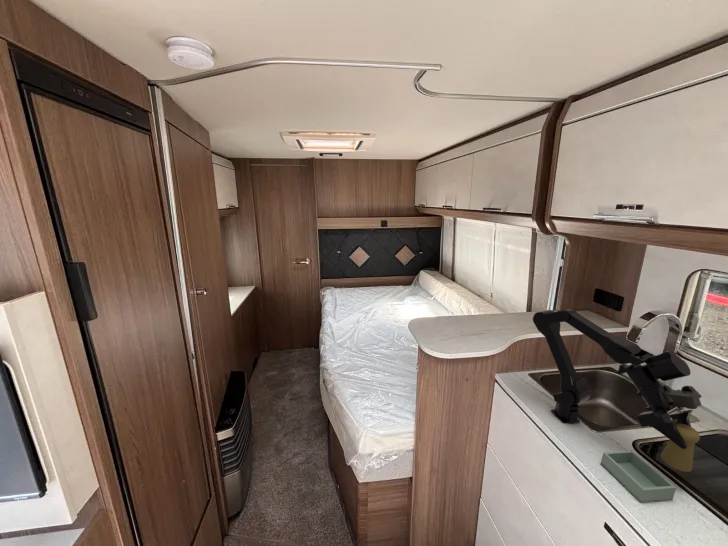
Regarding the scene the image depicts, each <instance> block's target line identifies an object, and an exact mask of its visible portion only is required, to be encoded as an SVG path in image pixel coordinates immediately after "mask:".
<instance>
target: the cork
mask: <svg viewBox="0 0 728 546" xmlns="http://www.w3.org/2000/svg"><path fill="white" fill-rule="evenodd" d="M676 428H677V429H678V431H679V433H680V435H681V437H682V438H683V440H684V442H685V444H686V446H687V449H682V448H681V447H679V446H678V445H677V444H675V443H674V442H673V441H671V440H670V439H669V440H668V441H667V444H666V445H665V447H664V449H663V451H662V452H661V454H660V458H661V460H662V461H663V462H664V463H665V464H666V465H668V466H669V467H671V468H673V469H675V470H678V471H681V472H684V473H685V472H686V473H690V472H692V470H693V460H694V452H695V445H696V444H697V443H698V442H699V441H700V439H701V436H700V434H699V432H698V431H697V429H695V428H693V427H692V426H691V427H690V426H688V425H685V424H680V423H677V424H676Z"/></svg>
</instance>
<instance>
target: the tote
mask: <svg viewBox="0 0 728 546" xmlns="http://www.w3.org/2000/svg"><path fill="white" fill-rule="evenodd" d="M600 466H602V468H604V469H605V470H606V471H607V472H608V473H609V474H610V475H611V476H612V477H613V478H614V479H615V480H616V481H617V482H618V483H619V484H620V485H622V487H623V488H624V489H625V490H626V491H628V492H629V494H630V495H631V496H633V498H634V499H636V501H638V503H640V504H642V503H646V504H647V503H654V502H666V501H667V502H670V501H673V499H674V496H675V493H676V491H677V487H676V486H675V485H674V484H673V483H672V482H671V481H669V480H667V478H665V477H664V476H663V475H662V474H661V473H660V472H659V471H657V470H656V469H654V467H652V466H651V465H650V464H649V463H647V461H645V460H644V459H643V458H642V457H640V456H639V455H638V454H637V453H635V452H634V451H633V450H623V451H622V450H621V451H619V450H618V451H605V452H604V451H603V453H602V455H601V461H600Z"/></svg>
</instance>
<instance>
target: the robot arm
mask: <svg viewBox="0 0 728 546" xmlns="http://www.w3.org/2000/svg"><path fill="white" fill-rule="evenodd" d="M532 322H533V324H534V326H535V327H536V329H537V331H538V332H539V333H540V334H541V335H543V337H544V338H545V341H546V343H547V345H548V348H549V350H550V353H551V355H552V359H553V360H554V363H555V365H556V367H557V371H558V373H559V375H560V386H559V387H560V390H561V391H559V392H557V393H554V394H553V399H554V402H555V408H552V409H550V411H551V412H552V414H553V415H554V416H555V417H556V418H557V419H559V421H560V422H561V423H563V424H569V423H580V422H581V420H580V419H579V418H578V416H579V409H580V406H579V404H581V403H582V402H583V403H584V402H585V401H588V400H589V399H590V398H591V395H592V393H591V391H592V388H591V387H590V386H589V383H588V380H587V378H586V377H584V378H582V377H581V376H580V375H578V373H577V372H576V369H575V367H574V365H573V364H574V363H573V362H572V360H571V356H570V354H569V352H568V349H567V347H566V345H565V341H564V340H563V337H562V335H561V323H563V322H565V323H566V324H568V326H571V327H572V328H574V329H575V330H577V331H578V332H580V333H581V334H583V336H584V335H585V336H586V337H587V338H589V339H590V340H591V341H593V342H595V343H596V344H597V345H598V346H600V348H601V349H602V350H603V352H604V354H606V355H607V356H608V357H609V358H610V359H611V360H613V361H614V362H615V363H617V364H620V365H618V366H619V368H618V369H617V372H616V373H617V374H618V375H623V374H627V377H628V378H629V379H630V381H631V383H632V384H633V386H634V387H635V388H636V390H637V392H635V394H636V396H637V397H642V399H643V400H644V402H645V403H646V407H645V410H646V411H644V412H641V413H640V414H637V416H636V418H635V419H636V422H637V423H638V424H639V426H640V427H641V428H645V427H650V428H653V429H654V430H656V431H657V432H659V433H660V434H662V435H663V436H664V437H666V438H667V439H669V440H671V441H673V442H674V443H675V444H677V445H678V446H679V447H681V448H682V449H687V446H686V444H685V442H684V440H683V438H682V437H681V435H680V433H679V431H678V429H677V428H676V424H677V423H680V424H685V425H688V426H690V427H692V425H691V421H690V416H691V414H692V413H693V410H696V409H698V407H701V406H702V402H701V399H702V395H701V394H700V392H699V391H698V390H696V389H695V388H694V386H692V385H684V386H682V387H681V389H675V390H674V389H671V388H670V387H669V385H667V384H662V383H661V382H660V381H663V382H667V381H672V380H676V379H680V378H681V379H682V378H685V377H689V376H691V373H692V372H691V369H690V367H689V365H688V363H687V362H686V361H685V360H684V359H682V358H681V356H679V355H677V354H675V353H674V352H673V350H667V351H664V352H661V353H659V354H657V355H656V354H653V353H652V352H649V351H647V350H645V349H643V348H641V347H640V345H638V344H637V343H635V342H633V341H632V340H629V339H628V338H626V337H621V336H619V335H615V334H612V333H610V332H608V330H605V328H602V327H600V326H599V325H597V324H596V323H594V322H592V321H591V320H589V319H588V318H586V317H585V316H583V315H582V314H580V313H578V312H577V311H576V309H572V308H568V309H563V310H558V311H554V310H552V309H548V310H543V311H542V310H541V311H537V312H535V313H533V317H532ZM627 364H628V365H627ZM642 364H643V365H642ZM686 409H688V410H686Z"/></svg>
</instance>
